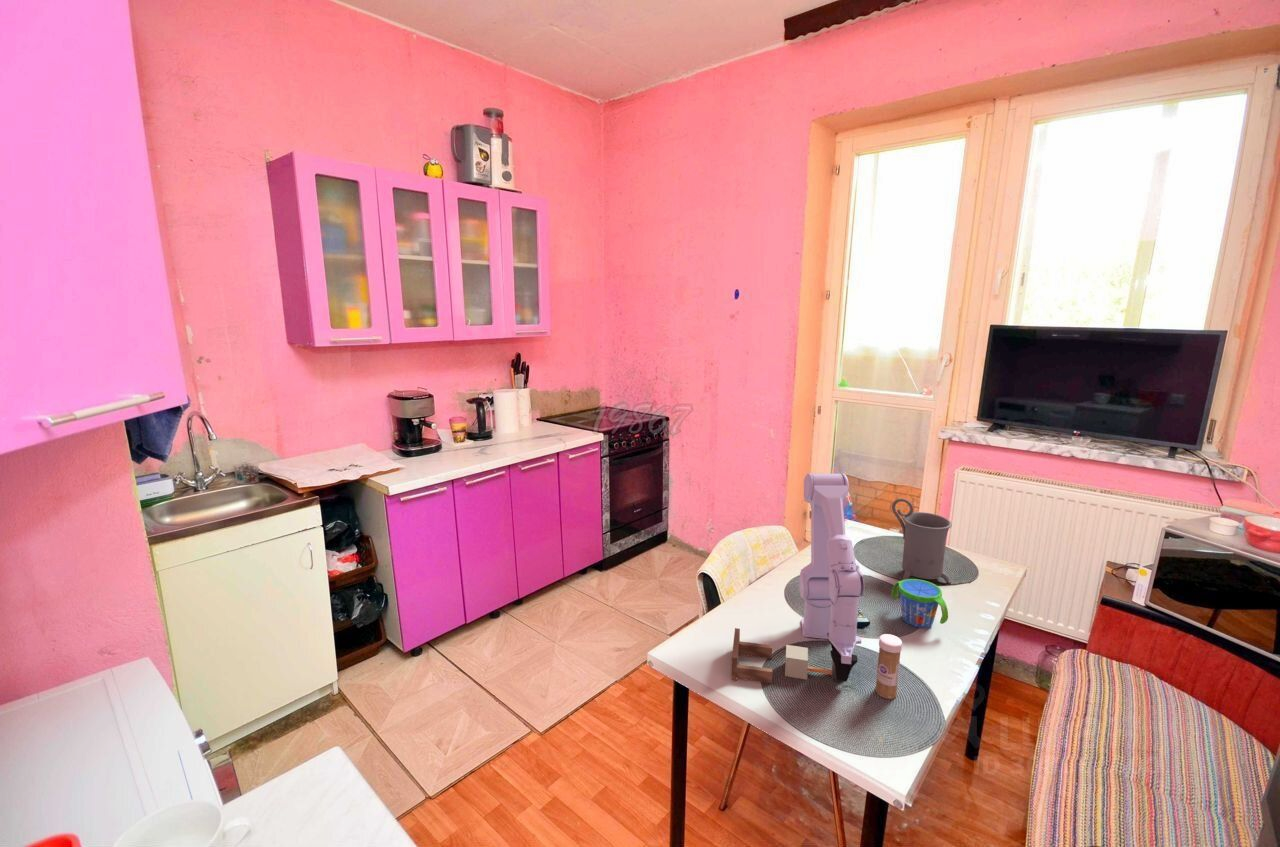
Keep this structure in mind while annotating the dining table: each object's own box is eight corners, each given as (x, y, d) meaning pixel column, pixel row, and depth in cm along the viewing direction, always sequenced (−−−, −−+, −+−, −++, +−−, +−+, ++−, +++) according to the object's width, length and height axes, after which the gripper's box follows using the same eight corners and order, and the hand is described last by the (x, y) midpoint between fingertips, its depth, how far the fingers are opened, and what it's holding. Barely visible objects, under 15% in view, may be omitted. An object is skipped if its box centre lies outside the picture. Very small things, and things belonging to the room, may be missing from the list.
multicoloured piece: (844, 672, 128) (845, 649, 127) (845, 686, 123) (847, 662, 122) (785, 663, 132) (786, 641, 130) (785, 676, 127) (785, 653, 126)
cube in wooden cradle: (771, 653, 135) (772, 632, 134) (771, 685, 124) (772, 662, 122) (734, 649, 137) (735, 628, 136) (731, 680, 126) (731, 657, 124)
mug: (954, 575, 173) (962, 501, 168) (947, 594, 162) (956, 515, 157) (892, 559, 184) (897, 490, 179) (881, 577, 173) (887, 503, 168)
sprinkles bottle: (872, 693, 120) (876, 640, 118) (878, 683, 124) (883, 630, 121) (894, 703, 118) (899, 648, 115) (899, 691, 121) (904, 638, 118)
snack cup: (880, 611, 153) (883, 578, 151) (908, 603, 157) (911, 571, 155) (926, 641, 139) (929, 605, 137) (956, 632, 142) (960, 597, 140)
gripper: (867, 640, 115) (863, 695, 118) (857, 604, 129) (853, 655, 131) (833, 636, 116) (829, 691, 119) (826, 601, 130) (823, 651, 133)
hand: (840, 672), depth 125 cm, fingers open, 5 cm apart
